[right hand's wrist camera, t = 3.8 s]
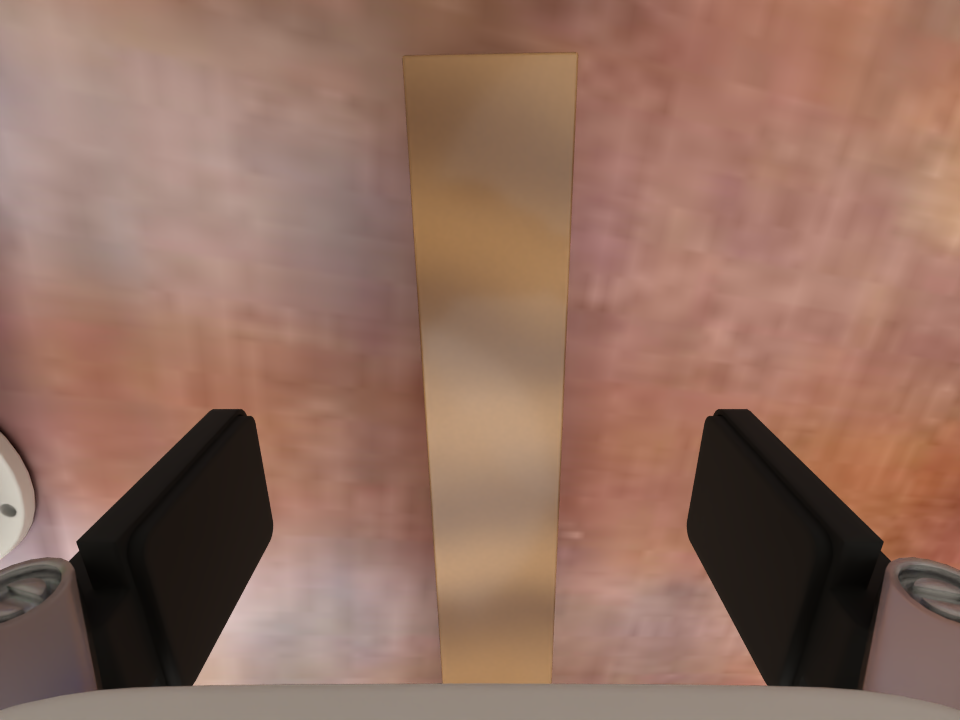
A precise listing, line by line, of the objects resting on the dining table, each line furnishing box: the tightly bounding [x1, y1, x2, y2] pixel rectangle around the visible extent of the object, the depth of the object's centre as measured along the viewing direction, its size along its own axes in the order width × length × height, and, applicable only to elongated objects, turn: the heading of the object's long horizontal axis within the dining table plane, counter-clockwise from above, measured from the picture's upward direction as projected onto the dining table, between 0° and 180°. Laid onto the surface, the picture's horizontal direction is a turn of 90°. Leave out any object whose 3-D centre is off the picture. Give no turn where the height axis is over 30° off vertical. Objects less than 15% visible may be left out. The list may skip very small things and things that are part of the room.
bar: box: [402, 52, 578, 684], centre depth 31 cm, size 61×5×8 cm, turn 1°
